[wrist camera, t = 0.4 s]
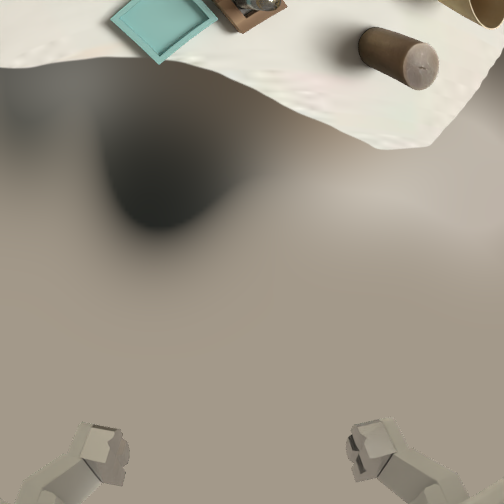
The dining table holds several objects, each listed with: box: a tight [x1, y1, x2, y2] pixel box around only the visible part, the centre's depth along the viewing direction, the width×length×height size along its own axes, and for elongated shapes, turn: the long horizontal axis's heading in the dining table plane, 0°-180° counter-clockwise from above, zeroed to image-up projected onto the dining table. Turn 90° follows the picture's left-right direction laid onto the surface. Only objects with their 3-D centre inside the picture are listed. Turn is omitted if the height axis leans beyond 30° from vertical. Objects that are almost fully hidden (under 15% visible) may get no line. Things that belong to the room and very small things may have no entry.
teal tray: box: [110, 0, 218, 64], centre depth 35 cm, size 12×12×2 cm
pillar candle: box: [358, 27, 439, 90], centre depth 42 cm, size 10×10×15 cm
